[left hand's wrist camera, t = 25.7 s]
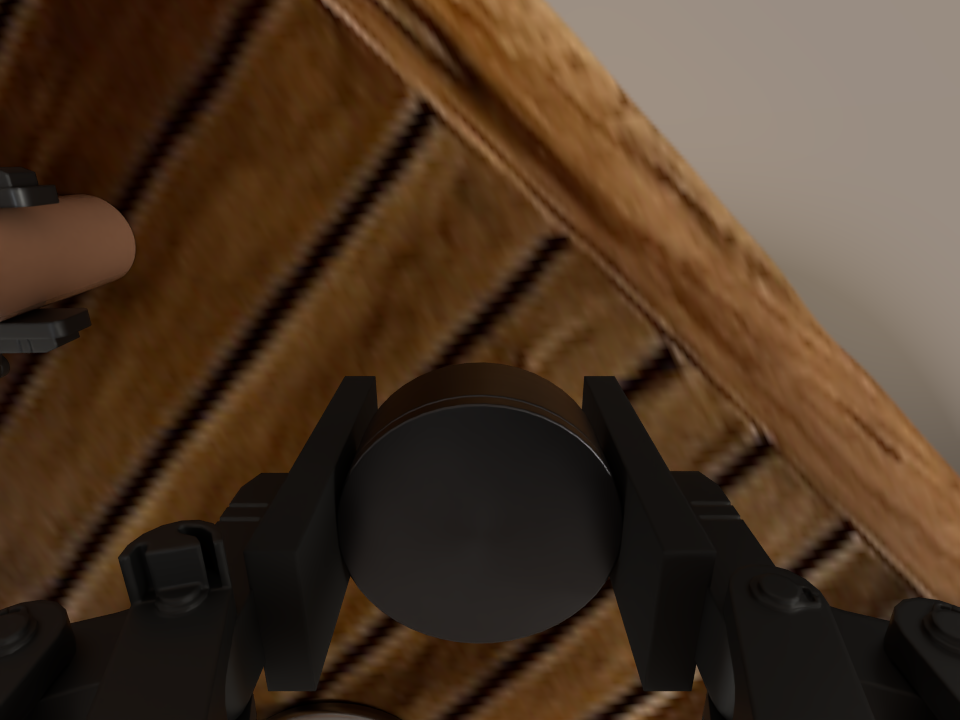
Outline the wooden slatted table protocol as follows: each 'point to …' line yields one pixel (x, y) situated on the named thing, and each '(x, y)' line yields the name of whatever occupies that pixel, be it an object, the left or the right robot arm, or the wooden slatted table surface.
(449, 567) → the lid
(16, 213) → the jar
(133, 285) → the wooden slatted table surface
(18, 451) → the wooden slatted table surface
